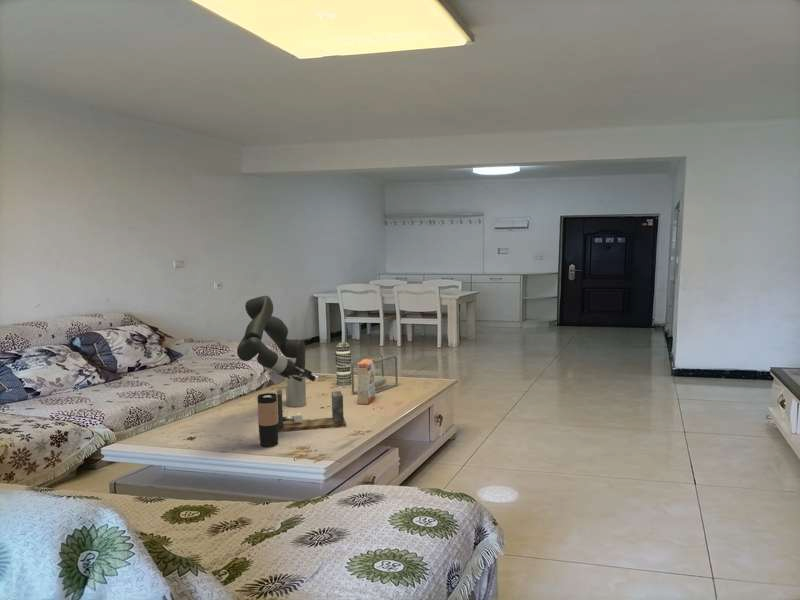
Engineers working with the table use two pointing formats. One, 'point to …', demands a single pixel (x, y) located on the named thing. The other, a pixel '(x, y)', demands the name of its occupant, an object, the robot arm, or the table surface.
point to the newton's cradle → (379, 380)
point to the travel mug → (268, 419)
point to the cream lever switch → (298, 417)
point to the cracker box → (366, 381)
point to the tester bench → (308, 424)
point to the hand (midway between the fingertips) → (308, 379)
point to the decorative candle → (343, 364)
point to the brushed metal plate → (280, 410)
